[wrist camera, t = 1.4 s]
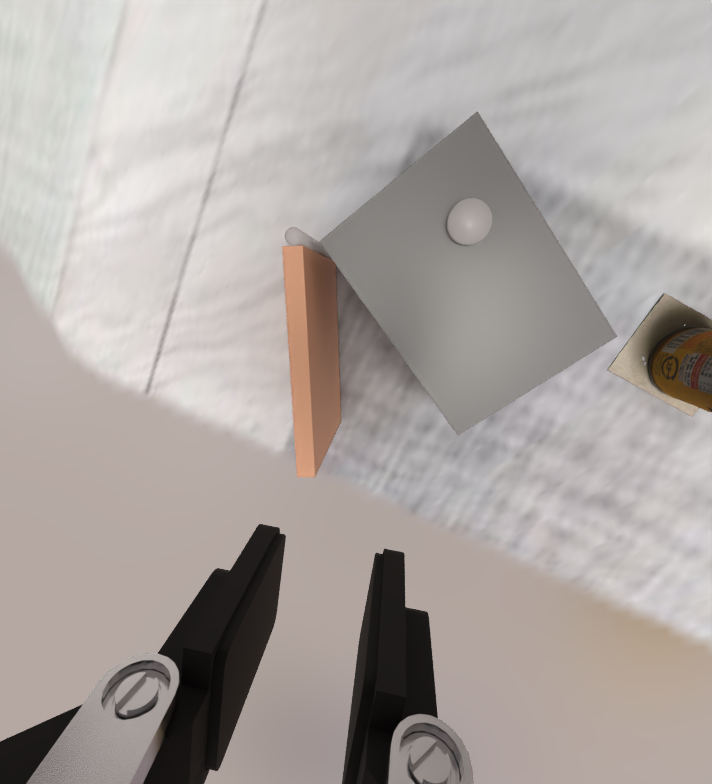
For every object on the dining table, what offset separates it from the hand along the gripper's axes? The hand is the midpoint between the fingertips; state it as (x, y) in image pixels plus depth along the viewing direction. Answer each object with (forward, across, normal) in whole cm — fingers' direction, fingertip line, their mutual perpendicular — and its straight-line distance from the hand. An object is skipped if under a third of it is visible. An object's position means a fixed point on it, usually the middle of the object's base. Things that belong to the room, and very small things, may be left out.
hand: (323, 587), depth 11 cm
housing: (+27, -4, -9) cm, 29 cm away
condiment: (+27, -25, -6) cm, 37 cm away
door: (+27, +5, -3) cm, 27 cm away
